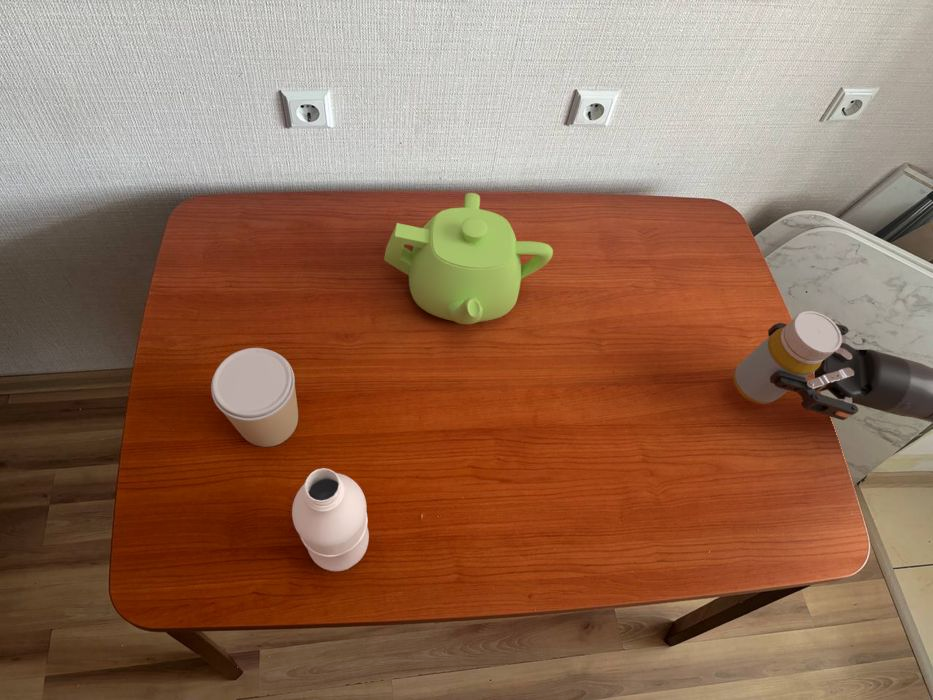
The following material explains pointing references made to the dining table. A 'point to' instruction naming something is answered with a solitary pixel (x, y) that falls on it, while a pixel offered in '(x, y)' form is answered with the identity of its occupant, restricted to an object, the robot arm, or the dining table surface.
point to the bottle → (787, 355)
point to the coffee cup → (257, 395)
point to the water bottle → (331, 519)
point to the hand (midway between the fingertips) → (772, 352)
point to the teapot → (464, 262)
